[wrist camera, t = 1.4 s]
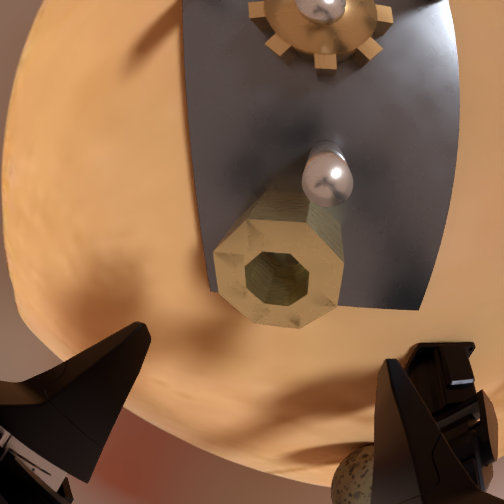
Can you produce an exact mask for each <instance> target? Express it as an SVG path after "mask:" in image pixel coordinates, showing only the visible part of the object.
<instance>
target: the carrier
mask: <svg viewBox="0 0 504 504" xmlns="http://www.w3.org/2000/svg"><path fill="white" fill-rule="evenodd" d="M183 41H184V64H185V81H186V96H187V109H188V121H189V133H190V143H191V153H192V163H193V172H194V180H195V189H196V197H197V205H198V212H199V220H200V227H201V234H202V241H203V248H204V254H205V261H206V267H207V273H208V280H209V286H210V291H212V292H218V285H217V278H216V271H215V264H214V257H213V251H214V250H215V248H216V247H217V246H218V244H219V243H220V242H221V240H222V239H223V238H224V236H225V235H226V233H227V232H228V231H229V229H230V228H231V227H232V225H233V224H234V223H235V221H236V220H237V219H238V218H239V217H240V216H241V215H242V214H243V213H244V212H245V211H246V210H247V209H248V208H249V207H250V206H251V205H252V204H253V203H254V202H255V201H256V200H257V199H258V198H260V197H261V196H262V195H263V194H264V193H265V192H266V191H271V192H293V193H305V194H306V196H307V197H308V198H309V200H311V201H312V202H313V203H315V204H317V205H319V206H322V207H324V208H325V209H326V210H327V211H328V212H329V213H330V214H331V215H332V216H333V218H334V219H335V220H336V221H337V222H338V223H339V224H340V225H341V232H342V242H343V253H344V268H343V275H342V281H341V287H340V293H339V299H338V304H337V305H339V306H352V307H366V308H381V309H399V310H419V308H420V305H421V303H422V300H423V297H424V295H425V292H426V289H427V286H428V283H429V280H430V277H431V274H432V271H433V268H434V265H435V261H436V258H437V255H438V251H439V247H440V244H441V240H442V236H443V232H444V228H445V224H446V219H447V215H448V210H449V205H450V199H451V194H452V188H453V182H454V175H455V167H456V159H457V149H458V137H459V115H460V90H459V69H458V57H457V48H456V40H455V33H454V27H453V21H452V16H451V11H450V7H449V2H448V0H183ZM268 253H269V254H270V255H271V256H272V257H273V258H274V259H275V260H276V261H277V262H282V263H294V264H298V263H299V262H298V261H297V260H296V259H295V258H294V257H293V256H292V255H291V254H288V253H276V252H268Z"/></svg>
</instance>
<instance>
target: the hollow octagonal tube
mask: <svg viewBox="0 0 504 504" xmlns="http://www.w3.org/2000/svg"><path fill="white" fill-rule="evenodd" d="M268 252H276V253H288V254H291V255H292V256H293V257H294V258H295V259H296V260H297V261H298V262H299V263H298V264H294V263H282V262H277V261H276V260H275V259H274V258H273V257H272V256H271V255H270V254H269V253H268ZM213 257H214V264H215V271H216V278H217V285H218V292H219V295H221V296H222V297H223V298H224V299H225V300H226V301H228V302H229V303H230V304H231V305H232V306H234V307H235V308H236V309H237V310H238V311H239V312H241V313H242V314H243V315H244V316H245V317H247V318H248V319H249V320H250V321H251V322H253V323H256V324H263V325H271V326H279V327H288V328H296V329H300V328H302V327H303V326H305V325H307V324H309V323H310V322H312V321H314V320H316V319H317V318H319V317H321V316H323V315H324V314H326V313H328V312H329V311H331V310H333V309H334V308H336V307H337V304H338V299H339V293H340V287H341V281H342V275H343V268H344V253H343V242H342V232H341V225H340V224H339V223H338V222H337V221H336V220H335V219H334V218H333V216H332V215H331V214H330V213H329V212H328V211H327V210H326V209H325V208H324V207H322V206H319V205H317V204H315V203H313V202H312V201H311V200H309V198H308V197H307V196H306V194H305V193H293V192H271V191H266V192H265V193H264V194H263V195H262V196H261V197H260V198H258V199H257V200H256V201H255V202H254V203H253V204H252V205H251V206H250V207H249V208H248V209H247V210H246V211H245V212H244V213H243V214H242V215H241V216H240V217H239V218H238V219H237V220H236V221H235V223H234V224H233V225H232V227H231V228H230V229H229V231H228V232H227V233H226V235H225V236H224V238H223V239H222V240H221V242H220V243H219V244H218V246H217V247H216V248H215V250H214V251H213Z"/></svg>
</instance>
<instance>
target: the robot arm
mask: <svg viewBox="0 0 504 504" xmlns="http://www.w3.org/2000/svg"><path fill="white" fill-rule="evenodd" d="M150 343H151V336H150V333H149V331H148V328H147V326H146V324H145V323H142V322H134V323H132V324H130V325H128V326H127V327H125V328H123V329H121V330H120V331H118V332H116V333H114V334H113V335H111V336H109V337H107V338H106V339H104V340H102V341H100V342H98V343H97V344H95V345H93V346H91V347H90V348H88V349H86V350H84V351H83V352H81V353H79V354H77V355H75V356H74V357H72V358H70V359H69V360H66V361H65V362H63V363H61V364H59V365H57V366H56V367H54V368H52V369H50V370H48V371H45V372H44V373H41V374H39V375H37V376H34V377H32V378H30V379H28V380H25V381H23V382H17V383H13V382H5V381H0V504H71V503H72V501H73V500H74V499H73V496H72V493H71V489H70V485H69V481H68V478H67V477H66V475H67V473H69V474H70V475H72V476H74V477H76V478H77V479H79V480H81V481H83V482H85V483H88V482H89V480H90V478H91V476H92V473H93V471H94V468H95V466H96V464H97V461H98V459H99V457H100V455H101V452H102V450H103V447H104V445H105V443H106V441H107V439H108V437H109V434H110V432H111V430H112V428H113V426H114V424H115V421H116V419H117V417H118V415H119V413H120V411H121V409H122V407H123V405H124V403H125V401H126V398H127V396H128V394H129V392H130V390H131V388H132V386H133V384H134V382H135V380H136V378H137V376H138V374H139V372H140V369H141V367H142V364H143V361H144V359H145V356H146V354H147V351H148V348H149V346H150ZM474 349H475V344H474V343H473V342H466V343H422V344H419V345H418V346H417V347H416V349H415V351H414V353H413V354H412V356H411V358H410V360H409V362H408V364H407V366H406V367H405V369H404V370H403V368H402V366H401V365H400V363H399V362H398V360H396V359H385V360H384V362H383V364H382V367H381V369H380V371H379V373H378V378H377V392H376V403H375V414H374V461H373V478H372V490H371V500H370V504H504V500H503V499H500V498H498V497H495V496H493V495H491V494H488V493H486V491H487V489H488V487H489V485H490V482H491V480H492V477H493V466H492V463H493V462H495V461H497V456H498V423H497V418H496V414H495V411H494V407H493V404H492V402H491V401H490V399H489V398H488V396H487V395H486V394H485V392H484V391H483V389H482V390H480V391H479V392H477V394H476V390H475V386H474V381H475V378H474V375H473V371H472V368H471V365H470V362H469V357H470V355H471V354H472V352H473V351H474ZM478 419H480V421H478V422H477V420H478Z"/></svg>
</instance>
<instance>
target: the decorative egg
mask: <svg viewBox="0 0 504 504" xmlns="http://www.w3.org/2000/svg"><path fill="white" fill-rule="evenodd" d="M373 461H374V445H369V446H365V447H362V448H359V449H357V450H355V451H354V452H352V453H351V454H349V455H348V456H347V457H346V458H345V459H344V460H343V461H342V462H341V463H340V465H339V466H338V468H337V469H336V471H335V474H334V476H333V480H332V485H331V498H332V503H333V504H370V500H371V490H372V478H373Z"/></svg>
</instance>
